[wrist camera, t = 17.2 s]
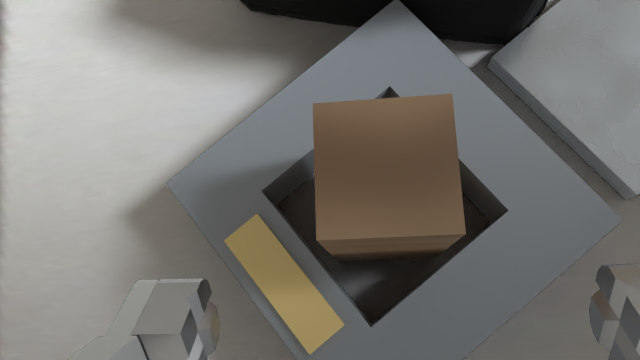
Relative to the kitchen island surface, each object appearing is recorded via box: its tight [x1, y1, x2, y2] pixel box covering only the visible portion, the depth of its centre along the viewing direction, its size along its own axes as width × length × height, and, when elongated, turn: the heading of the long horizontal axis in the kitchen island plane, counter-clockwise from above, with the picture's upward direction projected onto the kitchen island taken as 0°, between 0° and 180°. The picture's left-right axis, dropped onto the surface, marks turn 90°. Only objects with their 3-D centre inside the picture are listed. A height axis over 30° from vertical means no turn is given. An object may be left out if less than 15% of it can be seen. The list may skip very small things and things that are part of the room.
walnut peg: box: [313, 94, 466, 262], centre depth 18 cm, size 4×4×8 cm
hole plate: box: [166, 0, 624, 360], centre depth 20 cm, size 12×12×3 cm
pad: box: [488, 0, 640, 200], centre depth 22 cm, size 8×8×1 cm
